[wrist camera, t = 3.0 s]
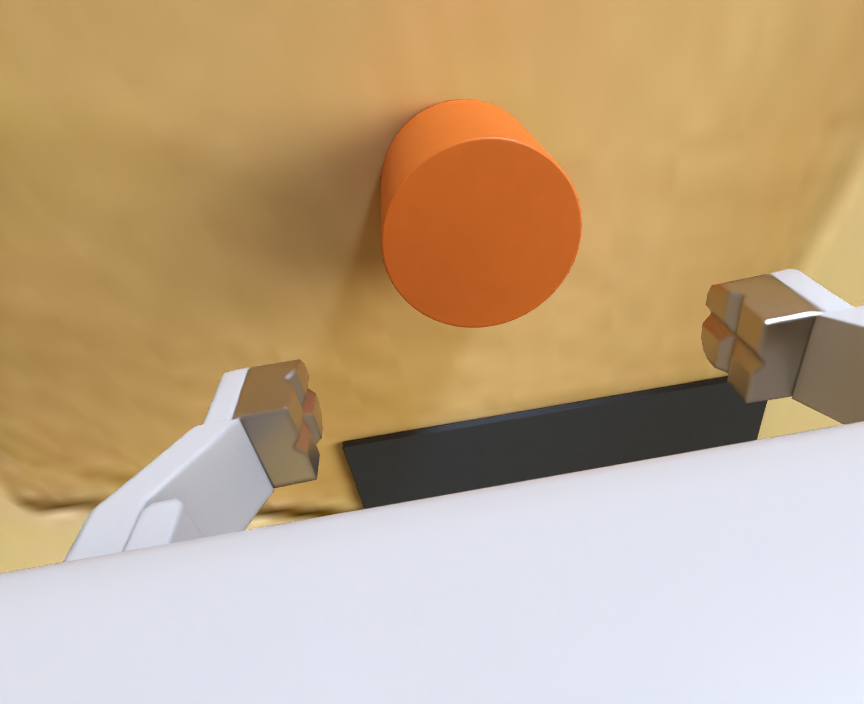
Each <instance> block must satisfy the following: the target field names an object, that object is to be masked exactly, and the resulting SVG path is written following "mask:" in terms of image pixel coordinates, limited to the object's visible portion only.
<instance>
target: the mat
mask: <svg viewBox="0 0 864 704" xmlns="http://www.w3.org/2000/svg"><path fill="white" fill-rule="evenodd" d="M727 379H728V377H723V378H717V379H711V380H705V381H699V382H693V383H687V384H681V385H676V386H670V387H664V388H658V389H652V390H646V391H640V392H635V393H629V394H623V395H617V396H611V397H605V398H599V399H594V400H588V401H582V402H576V403H570V404H564V405H558V406H553V407H547V408H541V409H535V410H529V411H523V412H517V413H512V414H506V415H500V416H494V417H488V418H482V419H476V420H470V421H465V422H459V423H453V424H447V425H441V426H435V427H429V428H424V429H418V430H412V431H406V432H400V433H394V434H388V435H383V436H377V437H371V438H365V439H359V440H353V441H347V442H343V450H344V453H345V456H346V458H347V461H348V464H349V467H350V469H351V472H352V475H353V478H354V481H355V483H356V486H357V489H358V492H359V494H360V497H361V500H362V503H363V506H364V508H365V509H368V508H374V507H380V506H385V505H391V504H397V503H402V502H408V501H414V500H419V499H425V498H431V497H436V496H442V495H448V494H454V493H459V492H465V491H471V490H476V489H482V488H488V487H493V486H499V485H505V484H510V483H516V482H522V481H527V480H533V479H539V478H544V477H550V476H556V475H562V474H567V473H573V472H579V471H584V470H590V469H596V468H601V467H607V466H613V465H618V464H624V463H630V462H635V461H641V460H647V459H652V458H658V457H664V456H669V455H675V454H681V453H686V452H692V451H698V450H703V449H709V448H715V447H720V446H726V445H732V444H737V443H743V442H749V441H754V440H757V437H758V433H759V429H760V426H761V422H762V418H763V414H764V411H765V407H766V403H767V400H765V401H758V402H751V403H746V402H745V401H744V400H743V399H742V398H741V397H740V396H739V394H738V393H737V392H736V391H735V390H734V389H733V388H732V387H731V386H730V384H729V383H728V382H727Z"/></svg>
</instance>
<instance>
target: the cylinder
mask: <svg viewBox="0 0 864 704" xmlns="http://www.w3.org/2000/svg"><path fill="white" fill-rule="evenodd" d="M581 231H582V217H581V208H580V204H579V199H578V196H577V194H576V191H575V188H574V186H573V184H572V183H571V181H570V179H569V177H568V176H567V174H566V173H565V172H564V171H563V169H562V168H561V167H560V165H559V164H558V163H557V162H556V161H555V160H554V159H553V158H552V157H551V156H550V155H549V154H548V153H547V152H546V151H545V150H544V149H543V147H542V146H541V145H540V144H539V143H538V142H537V141H536V140H535V139H534V138H533V137H532V136H531V135H530V134H529V133H528V132H527V131H526V129H525V128H524V127H523V126H522V125H521V124H520V123H519V122H518V121H517V120H516V119H515V118H514V117H513V116H511V115H510V114H508V113H507V112H506V111H504V110H503V109H501V108H499V107H497V106H495V105H492V104H489V103H486V102H483V101H477V100H468V99H459V100H451V101H446V102H443V103H439V104H436V105H434V106H432V107H429V108H427V109H425V110H424V111H422V112H420V113H419V114H417V115H416V116H415V117H413V118H412V119H411V120H410V121H409V122H408V123H407V124H406V125H405V126H404V127H403V128H402V129H401V130H400V131H399V133H398V134H397V135H396V137H395V138H394V140H393V142H392V144H391V145H390V147H389V149H388V152H387V154H386V157H385V160H384V164H383V168H382V176H381V249H382V256H383V261H384V264H385V267H386V271H387V273H388V275H389V277H390V279H391V282H392V283H393V285H394V286H395V288H396V289H397V291H398V292H399V293H400V295H401V296H402V297H403V298H404V299H405V300H406V301H407V302H408V303H409V304H410V305H411V306H412V307H414V308H415V309H416V310H418V311H419V312H421V313H422V314H424V315H426V316H428V317H430V318H432V319H434V320H436V321H439V322H442V323H445V324H449V325H453V326H459V327H487V326H494V325H498V324H502V323H506V322H508V321H511V320H514V319H516V318H518V317H521V316H523V315H525V314H527V313H528V312H530V311H531V310H533V309H535V308H536V307H538V306H539V305H540V304H541V303H543V302H544V301H545V300H546V299H547V298H548V297H549V296H551V295H552V294H553V293H554V292H555V290H556V289H557V288H558V287H559V286H560V284H561V283H562V282H563V280H564V279H565V277H566V276H567V274H568V273H569V271H570V269H571V267H572V265H573V263H574V260H575V258H576V255H577V252H578V249H579V244H580V239H581Z"/></svg>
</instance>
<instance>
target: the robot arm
mask: <svg viewBox="0 0 864 704" xmlns="http://www.w3.org/2000/svg"><path fill="white" fill-rule="evenodd" d="M706 305H707V307H708V308H709V309H710V311H711V312H712V313H711V314H710V316H709V317H708V318H707V319H706V320H705V322H704V323H703V326H702V334H701V340H702V345H703V350H704V353H705V355H706V357H707V359H708V360H709V362H710V363H711V364H712V365H713V366H714V367H715V368H717V369H719V370H722V371H724V372H727V373H729V374H728V379H727V382H728V383H729V384H730V386H731V387H732V388H733V389H734V390H735V391H736V392H737V393H738V394H739V396H740V397H741V398H742V399H743V400H744V401H745V402H746V403H751V402H758V401H765V400H771V399H778V398H784V397H791V396H792V399H794V400H796V401H798V402H800V403H802V404H804V405H806V406H808V407H810V408H812V409H814V410H816V411H818V412H820V413H822V414H824V415H826V416H828V417H830V418H832V419H834V420H836V421H838V422H840V423H842V424H844V425H839V426H834V427H828V428H822V429H817V430H811V431H805V432H800V433H794V434H788V435H783V436H777V437H771V438H766V439H760V440H754V441H749V442H743V443H737V444H732V445H726V446H720V447H715V448H709V449H703V450H698V451H692V452H686V453H681V454H675V455H669V456H664V457H658V458H652V459H647V460H641V461H635V462H630V463H624V464H618V465H613V466H607V467H601V468H596V469H590V470H584V471H579V472H573V473H567V474H562V475H556V476H550V477H544V478H539V479H533V480H527V481H522V482H516V483H510V484H505V485H499V486H493V487H488V488H482V489H476V490H471V491H465V492H459V493H454V494H448V495H442V496H436V497H431V498H425V499H419V500H414V501H408V502H402V503H397V504H391V505H385V506H380V507H374V508H368V509H363V510H357V511H351V512H346V513H340V514H334V515H328V516H323V517H317V518H311V519H306V520H300V521H294V522H289V523H283V524H277V525H272V526H266V527H260V528H255V529H249V530H245V529H246V527H247V526H248V525H249V523H250V522H251V521H252V519H253V518H254V517H255V515H256V514H257V513H258V511H259V510H260V509H261V507H262V506H263V505H264V503H265V502H266V501H267V499H268V498H269V497H270V495H271V494H272V493H273V491H274V489H273V488H278V487H283V486H287V485H292V484H297V483H302V482H307V481H312V480H317V472H318V464H319V456H320V454H319V451H318V448H317V446H316V444H317V443H318V442H319V440H320V439H321V438H322V429H323V426H322V414H321V410H320V405H319V402H318V399H317V396H316V393H314V392H313V391H311V390H310V389H308V381H309V374H308V372H307V369H306V367H305V364H304V363H303V362H302V361H301V360H300V359H299V360H293V361H287V362H280V363H274V364H268V365H262V366H256V367H252V368H249V367H248V368H243V369H238V370H233V371H228V372H226V373H224V374H223V375H222V377H221V380H220V382H219V385H218V387H217V390H216V392H215V395H214V397H213V400H212V402H211V405H210V407H209V410H208V412H207V415H206V417H205V420H204V423H203V425H199V426H195V427H193V428H192V429H191V430H190V431H189V432H187V433H186V434H185V435H184V436H182V437H181V438H180V439H179V440H177V441H176V442H175V443H174V444H173V445H171V446H170V447H169V448H168V449H166V450H165V451H164V452H163V453H162V454H160V455H159V456H158V457H157V458H155V459H154V460H153V461H152V462H151V463H149V464H148V465H147V466H146V467H144V468H143V469H142V470H141V471H140V472H138V473H137V474H136V475H135V476H133V477H132V478H131V479H130V480H129V481H127V482H126V483H125V484H124V485H122V486H121V487H120V488H119V489H117V490H116V491H115V492H114V493H113V494H111V495H110V496H109V497H108V498H106V499H105V500H104V501H103V502H102V503H100V504H99V505H98V506H97V507H95V508H94V509H93V510H92V511H91V512H90V513H89V515H88V517H87V519H86V520H85V522H84V524H83V526H82V528H81V530H80V532H79V533H78V535H77V537H76V539H75V541H74V543H73V544H72V546H71V548H70V550H69V552H68V554H67V555H66V557H65V559H64V561H63V562H61V563H56V564H50V565H44V566H39V567H33V568H27V569H22V570H16V571H10V572H5V573H0V704H864V306H860V307H853V306H851V305H850V304H848V303H847V302H845V301H844V300H842V299H841V298H839V297H838V296H836V295H835V294H833V293H832V292H830V291H829V290H827V289H826V288H824V287H823V286H821V285H820V284H818V283H817V282H815V281H814V280H812V279H811V278H809V277H808V276H806V275H805V274H803V273H802V272H800V271H799V270H794V269H787V270H782V271H777V272H773V273H768V274H764V275H760V276H755V277H750V278H745V279H741V280H736V281H731V282H726V283H721V284H716V285H712V286H711V288H710V290H709V292H708V294H707V300H706Z"/></svg>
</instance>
